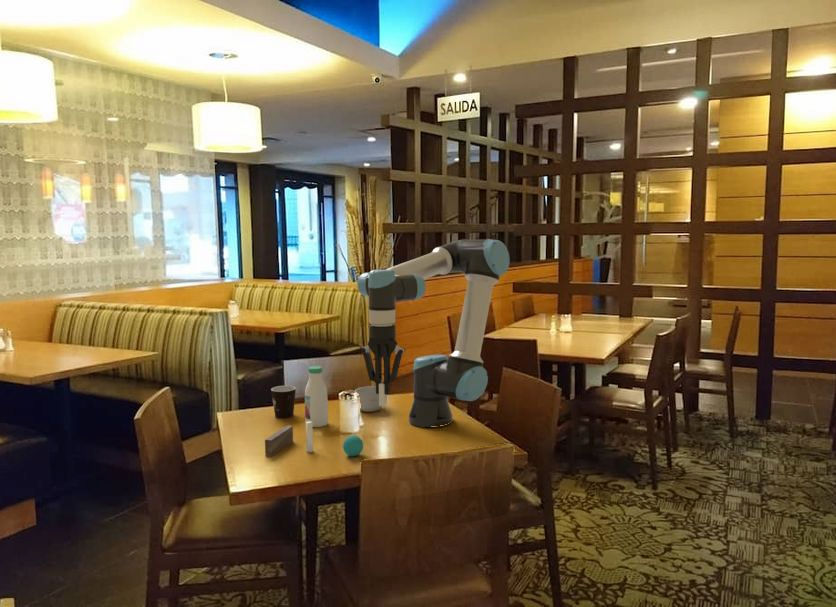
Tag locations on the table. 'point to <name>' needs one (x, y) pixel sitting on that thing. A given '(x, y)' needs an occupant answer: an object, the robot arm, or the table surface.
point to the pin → (309, 437)
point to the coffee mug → (283, 401)
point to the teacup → (368, 398)
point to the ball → (353, 445)
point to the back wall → (278, 441)
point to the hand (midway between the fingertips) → (383, 404)
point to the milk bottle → (316, 398)
